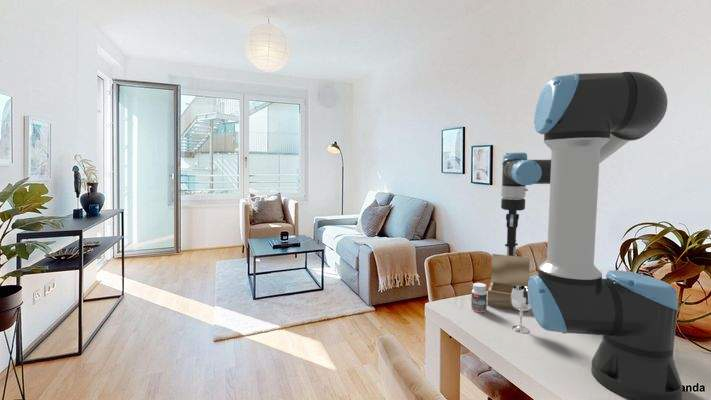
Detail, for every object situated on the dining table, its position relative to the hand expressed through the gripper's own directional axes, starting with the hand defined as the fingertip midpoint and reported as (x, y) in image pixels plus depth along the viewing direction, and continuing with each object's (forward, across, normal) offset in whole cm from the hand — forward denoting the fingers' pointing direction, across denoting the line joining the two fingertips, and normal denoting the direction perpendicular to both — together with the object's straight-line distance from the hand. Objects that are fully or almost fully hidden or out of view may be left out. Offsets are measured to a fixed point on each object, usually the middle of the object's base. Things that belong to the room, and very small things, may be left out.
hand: (510, 263), depth 124 cm
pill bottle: (+11, -18, +8) cm, 23 cm away
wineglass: (+10, -27, -5) cm, 29 cm away
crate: (+11, -8, 0) cm, 14 cm away
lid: (+2, -2, 0) cm, 3 cm away
